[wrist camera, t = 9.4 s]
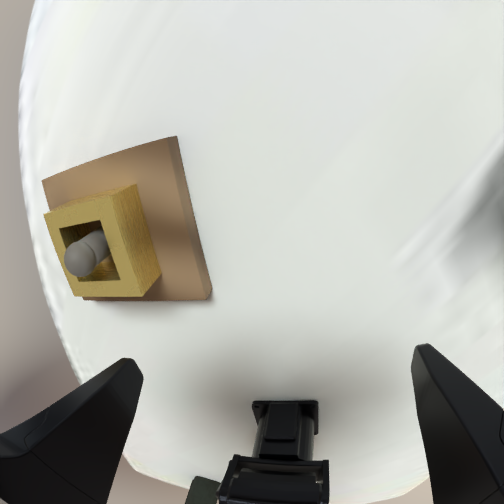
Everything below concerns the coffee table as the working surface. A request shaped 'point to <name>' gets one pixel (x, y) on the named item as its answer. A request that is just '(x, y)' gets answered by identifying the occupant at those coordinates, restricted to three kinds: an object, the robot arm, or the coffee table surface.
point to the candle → (202, 491)
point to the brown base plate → (155, 210)
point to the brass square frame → (118, 238)
